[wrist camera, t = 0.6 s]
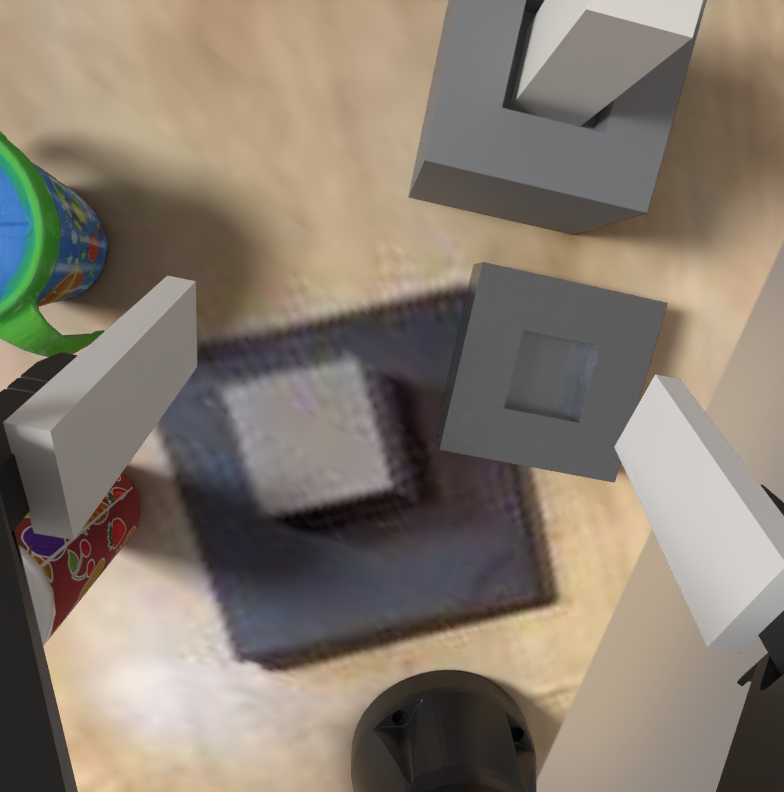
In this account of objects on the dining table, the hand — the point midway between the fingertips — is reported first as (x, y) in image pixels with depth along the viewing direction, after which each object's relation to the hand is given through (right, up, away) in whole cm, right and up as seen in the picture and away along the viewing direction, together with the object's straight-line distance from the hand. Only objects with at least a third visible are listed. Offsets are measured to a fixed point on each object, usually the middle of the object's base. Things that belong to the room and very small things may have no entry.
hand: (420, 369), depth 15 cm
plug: (+8, +16, +13) cm, 22 cm away
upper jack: (+7, +18, +21) cm, 28 cm away
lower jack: (+10, +1, +24) cm, 26 cm away
